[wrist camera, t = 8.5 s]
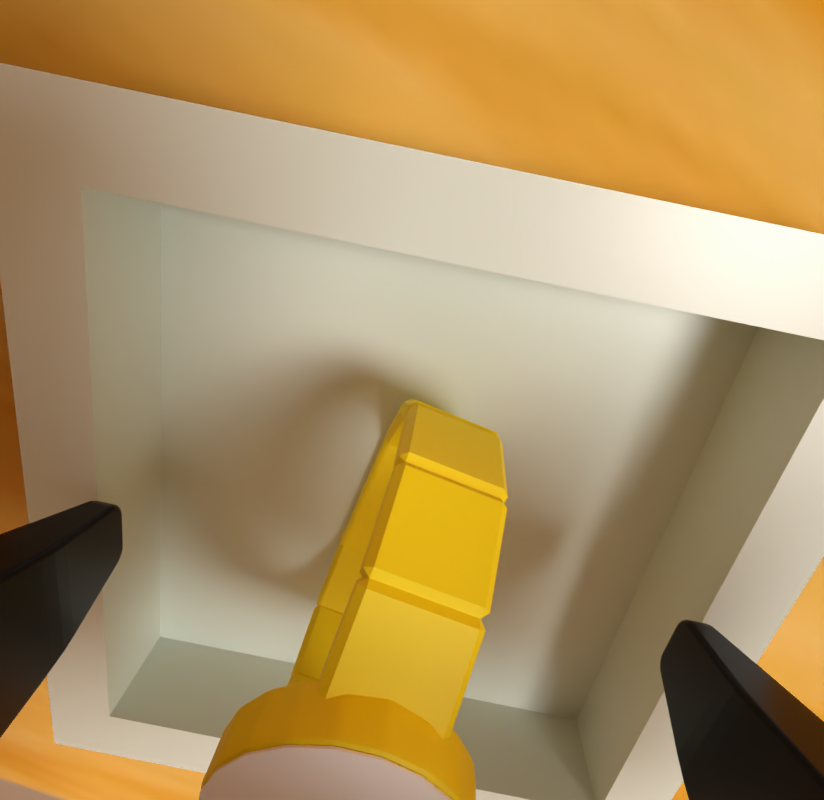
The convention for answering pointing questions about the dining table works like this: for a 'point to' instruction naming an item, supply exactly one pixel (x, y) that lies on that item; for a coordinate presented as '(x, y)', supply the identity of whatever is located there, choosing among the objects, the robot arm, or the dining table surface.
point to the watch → (385, 634)
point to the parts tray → (379, 404)
